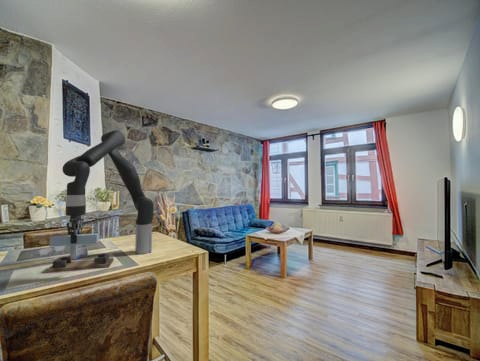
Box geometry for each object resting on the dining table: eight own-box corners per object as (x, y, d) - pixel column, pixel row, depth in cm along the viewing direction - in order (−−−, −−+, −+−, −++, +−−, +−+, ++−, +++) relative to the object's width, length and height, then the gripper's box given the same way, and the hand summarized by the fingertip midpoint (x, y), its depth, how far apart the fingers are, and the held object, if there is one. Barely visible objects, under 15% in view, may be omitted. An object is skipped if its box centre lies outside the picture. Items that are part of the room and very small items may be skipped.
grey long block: (98, 241, 109) (98, 233, 109) (96, 243, 106) (96, 234, 106) (53, 244, 104) (53, 235, 104) (49, 246, 100) (49, 237, 100)
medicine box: (75, 259, 126) (76, 243, 126) (69, 258, 126) (69, 243, 127) (88, 255, 133) (88, 240, 133) (81, 254, 134) (81, 239, 134)
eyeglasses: (65, 250, 144) (66, 244, 144) (72, 253, 140) (72, 247, 140) (37, 256, 131) (38, 249, 131) (44, 259, 127) (44, 252, 127)
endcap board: (113, 260, 124) (113, 252, 124) (109, 267, 114) (109, 258, 114) (55, 265, 116) (56, 256, 116) (46, 273, 106) (46, 263, 106)
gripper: (80, 205, 100) (79, 245, 99) (90, 203, 113) (89, 238, 113) (59, 206, 97) (58, 247, 97) (72, 203, 111) (71, 239, 110)
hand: (75, 242), depth 105 cm, fingers closed on grey long block, 3 cm apart
